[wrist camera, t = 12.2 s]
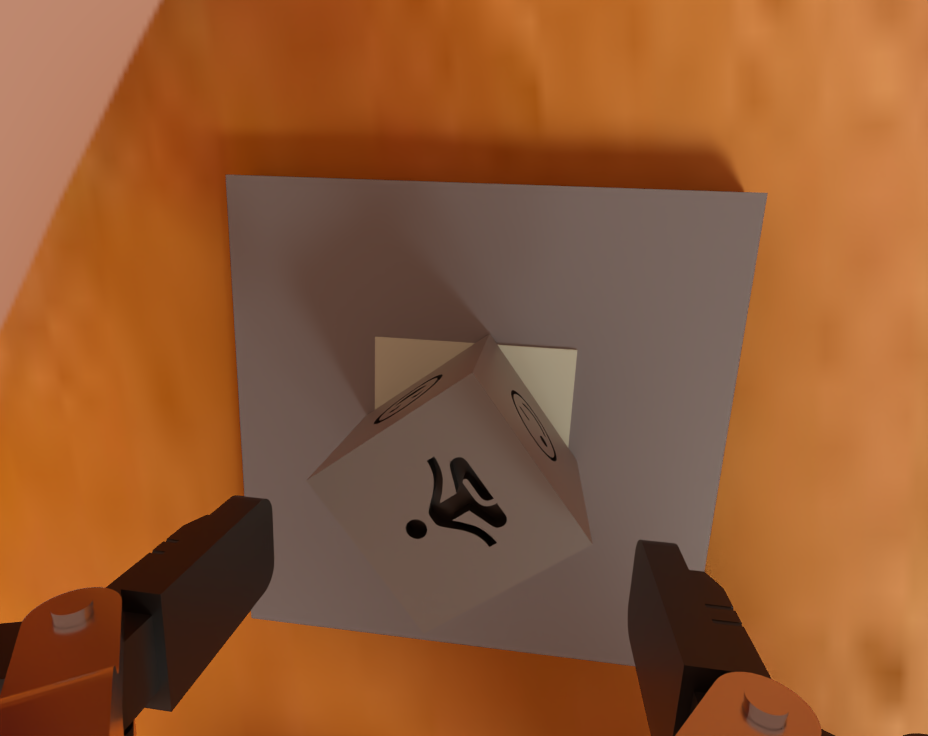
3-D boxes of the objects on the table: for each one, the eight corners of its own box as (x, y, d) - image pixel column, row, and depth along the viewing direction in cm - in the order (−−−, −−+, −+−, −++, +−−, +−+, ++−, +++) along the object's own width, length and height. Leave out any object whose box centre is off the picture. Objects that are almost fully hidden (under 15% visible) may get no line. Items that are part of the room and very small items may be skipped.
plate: (747, 196, 17) (768, 192, 15) (676, 642, 21) (687, 674, 19) (249, 178, 19) (224, 174, 17) (269, 593, 22) (250, 619, 21)
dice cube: (576, 460, 18) (592, 544, 13) (451, 532, 19) (423, 633, 14) (489, 333, 17) (472, 372, 12) (365, 415, 18) (306, 480, 14)
